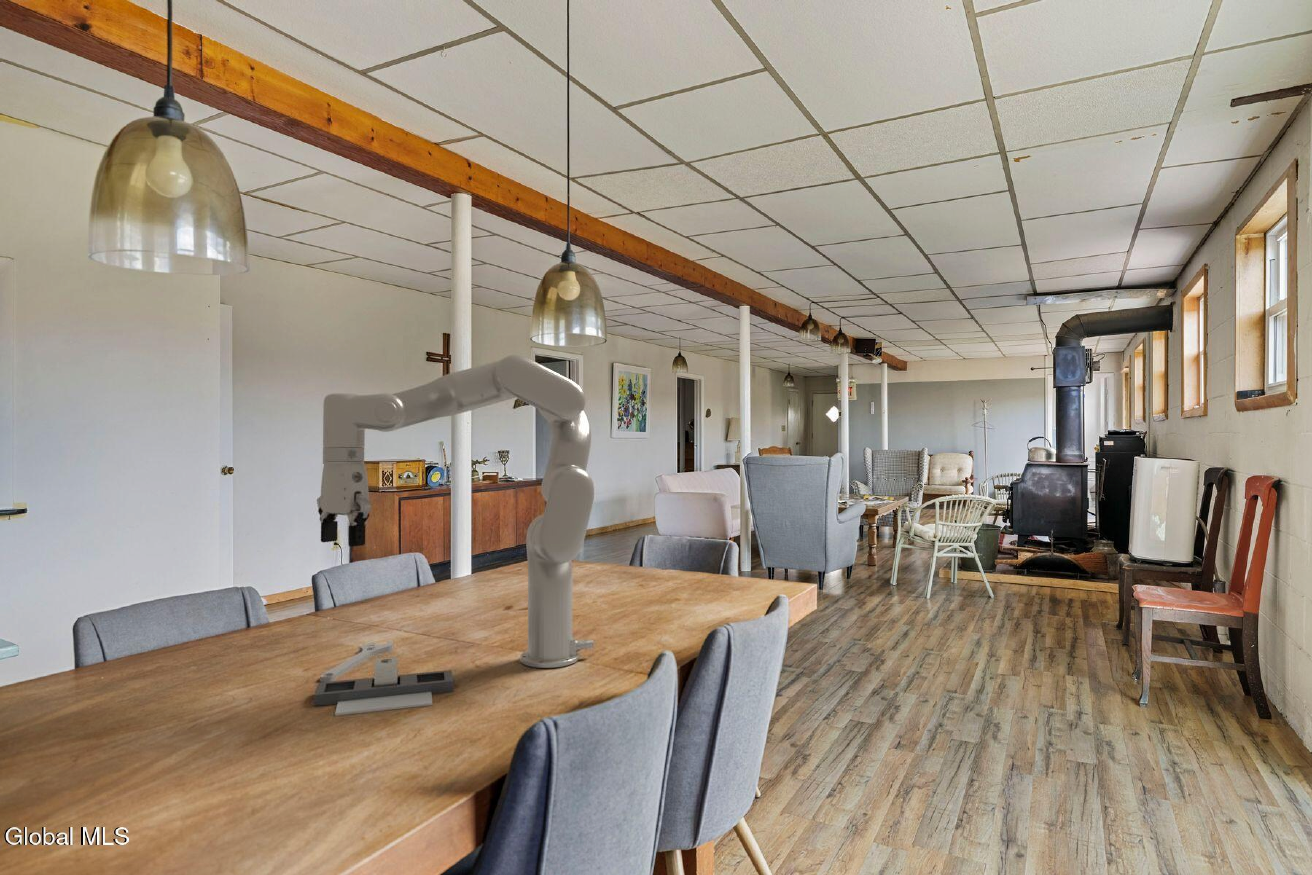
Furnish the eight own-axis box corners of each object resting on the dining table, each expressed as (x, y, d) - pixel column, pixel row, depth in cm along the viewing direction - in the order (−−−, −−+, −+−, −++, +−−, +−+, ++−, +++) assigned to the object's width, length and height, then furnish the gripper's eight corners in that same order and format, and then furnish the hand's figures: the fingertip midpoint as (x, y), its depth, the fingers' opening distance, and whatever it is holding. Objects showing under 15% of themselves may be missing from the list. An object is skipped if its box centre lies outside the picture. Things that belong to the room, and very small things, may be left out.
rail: (451, 679, 143) (451, 669, 143) (453, 691, 136) (453, 680, 136) (318, 693, 135) (318, 682, 135) (313, 706, 128) (313, 695, 128)
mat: (431, 693, 135) (431, 691, 135) (432, 704, 129) (432, 702, 129) (338, 703, 130) (338, 701, 130) (334, 715, 124) (334, 713, 124)
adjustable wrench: (330, 685, 141) (329, 676, 141) (300, 683, 142) (300, 674, 142) (397, 648, 166) (397, 640, 166) (372, 647, 167) (372, 639, 167)
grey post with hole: (397, 688, 138) (397, 656, 138) (397, 695, 134) (397, 662, 134) (375, 690, 137) (375, 658, 137) (374, 697, 133) (374, 664, 133)
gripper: (386, 457, 140) (385, 545, 140) (337, 455, 150) (336, 538, 150) (350, 457, 134) (349, 549, 134) (302, 456, 144) (300, 541, 144)
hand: (342, 543), depth 142 cm, fingers open, 9 cm apart
